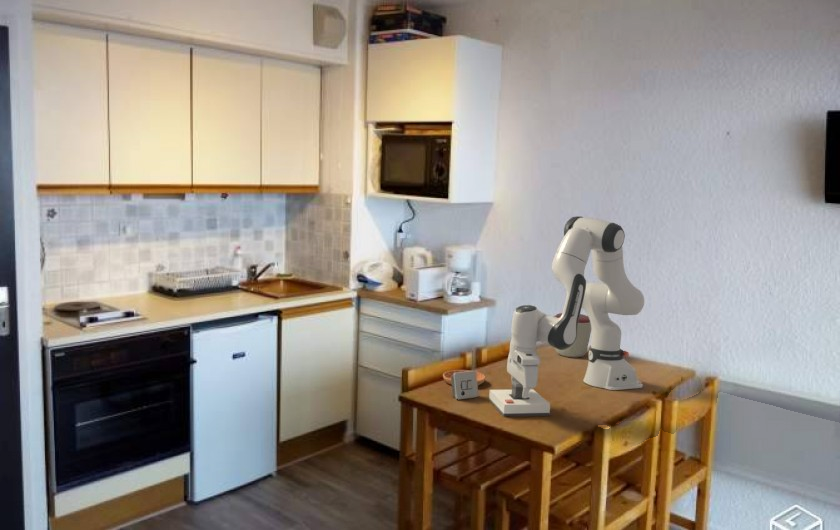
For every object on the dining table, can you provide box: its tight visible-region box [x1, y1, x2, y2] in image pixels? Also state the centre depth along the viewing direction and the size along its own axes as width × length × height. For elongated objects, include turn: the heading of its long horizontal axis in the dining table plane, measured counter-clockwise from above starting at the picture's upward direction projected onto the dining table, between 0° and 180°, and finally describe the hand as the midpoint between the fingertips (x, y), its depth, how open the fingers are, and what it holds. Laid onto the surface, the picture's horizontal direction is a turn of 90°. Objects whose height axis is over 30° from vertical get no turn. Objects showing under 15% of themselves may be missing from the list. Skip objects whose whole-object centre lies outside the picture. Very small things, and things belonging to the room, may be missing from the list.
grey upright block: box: [511, 380, 527, 400], centre depth 248 cm, size 4×4×8 cm
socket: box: [488, 388, 551, 418], centre depth 248 cm, size 16×16×5 cm
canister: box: [552, 312, 591, 358], centre depth 325 cm, size 18×18×21 cm
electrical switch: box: [451, 370, 479, 400], centre depth 257 cm, size 9×5×9 cm, turn 121°
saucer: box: [442, 369, 486, 387], centre depth 275 cm, size 16×16×3 cm
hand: (519, 393), depth 248 cm, fingers open, 8 cm apart
